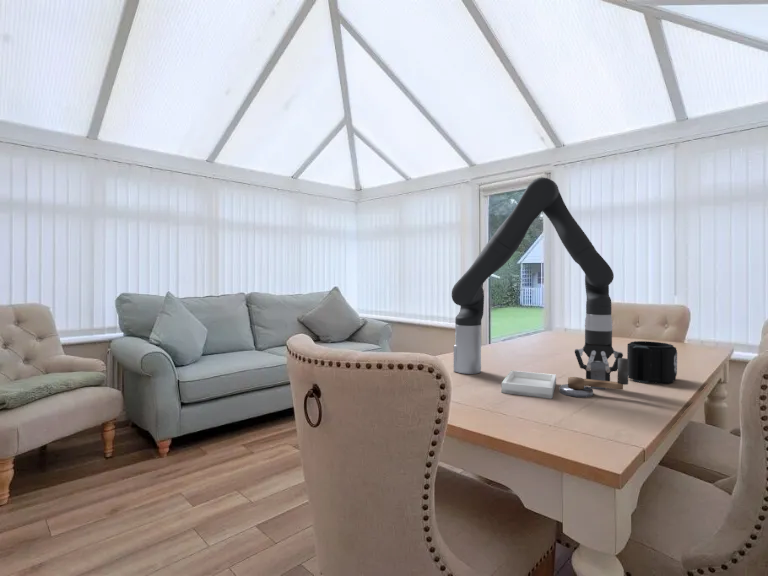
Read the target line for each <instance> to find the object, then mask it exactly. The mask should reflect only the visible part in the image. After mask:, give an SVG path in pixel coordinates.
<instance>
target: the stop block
mask: <svg viewBox="0 0 768 576" xmlns="http://www.w3.org/2000/svg"><path fill="white" fill-rule="evenodd" d="M605 367H606V363H604V362H601V361H593V362H591V369H590V370H591V379H592V380H602V381H605ZM590 388H592V389H598V390H606V388H602V387H592V386H590Z"/></svg>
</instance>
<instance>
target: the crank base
mask: <svg viewBox="0 0 768 576" xmlns="http://www.w3.org/2000/svg"><path fill="white" fill-rule="evenodd" d="M559 393H560V394H561V395H564V396H566V397H572V398H582V399H583V398H591V397H593V396H594V388H591V386H584V389H571V388H569V387H568V383H565V384H561V385H559Z"/></svg>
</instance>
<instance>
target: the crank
mask: <svg viewBox="0 0 768 576" xmlns="http://www.w3.org/2000/svg"><path fill="white" fill-rule="evenodd" d="M567 384H568V387H569V388H571V389H584V386H587V387H591V386H592V387H602V388H605V389H613V390H623V391H624V386H625V385H626V386H627V385H629V376H628V359H627V358H626V357H622V358H618V369H617V381H611V380H610V381H602V380H592V379H586V378H583V377H577V376H569V377H567Z"/></svg>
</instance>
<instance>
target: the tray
mask: <svg viewBox="0 0 768 576" xmlns="http://www.w3.org/2000/svg"><path fill="white" fill-rule="evenodd" d="M556 384H557V374H556V373H555V374H553V373H543V372H533V371H522V370H513V369H512V370H510V371H509V372H508V373H507V375H506V377H505V378H504V379H503V381H501V393H503V394H510V395H518V396H525V397H536V398H541V399H542V398H544V399H553V396H554V393H555V389H556Z"/></svg>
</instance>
